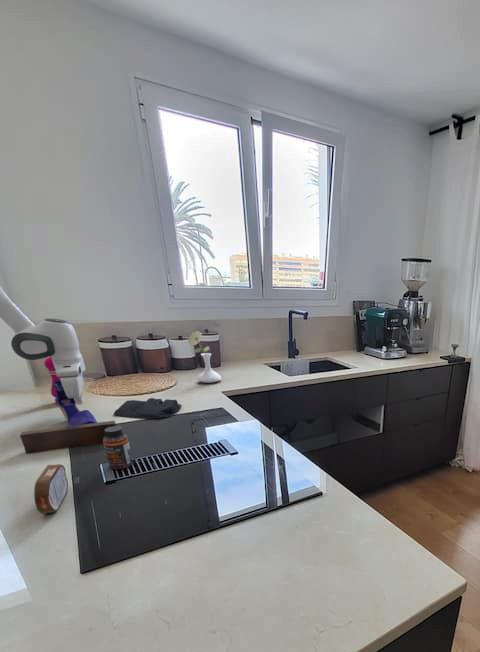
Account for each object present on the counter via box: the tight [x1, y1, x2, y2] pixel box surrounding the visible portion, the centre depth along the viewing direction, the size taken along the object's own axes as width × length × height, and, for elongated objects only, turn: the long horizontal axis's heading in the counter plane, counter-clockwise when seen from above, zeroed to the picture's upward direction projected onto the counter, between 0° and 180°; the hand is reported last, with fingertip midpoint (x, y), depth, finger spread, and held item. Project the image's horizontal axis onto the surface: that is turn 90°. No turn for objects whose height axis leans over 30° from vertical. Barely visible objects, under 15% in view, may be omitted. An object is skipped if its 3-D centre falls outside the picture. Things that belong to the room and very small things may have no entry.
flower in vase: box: [187, 330, 222, 384], centre depth 191 cm, size 13×11×25 cm
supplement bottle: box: [102, 425, 134, 470], centre depth 109 cm, size 6×6×11 cm
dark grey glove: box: [113, 397, 183, 420], centre depth 153 cm, size 15×22×5 cm
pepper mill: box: [43, 357, 60, 405], centre depth 157 cm, size 7×7×20 cm
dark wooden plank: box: [19, 420, 117, 455], centre depth 122 cm, size 24×3×6 cm, turn 118°
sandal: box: [51, 380, 99, 426], centre depth 136 cm, size 8×20×15 cm, turn 47°
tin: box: [33, 463, 69, 515], centre depth 91 cm, size 15×3×8 cm, turn 22°
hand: (80, 403), depth 145 cm, fingers closed
